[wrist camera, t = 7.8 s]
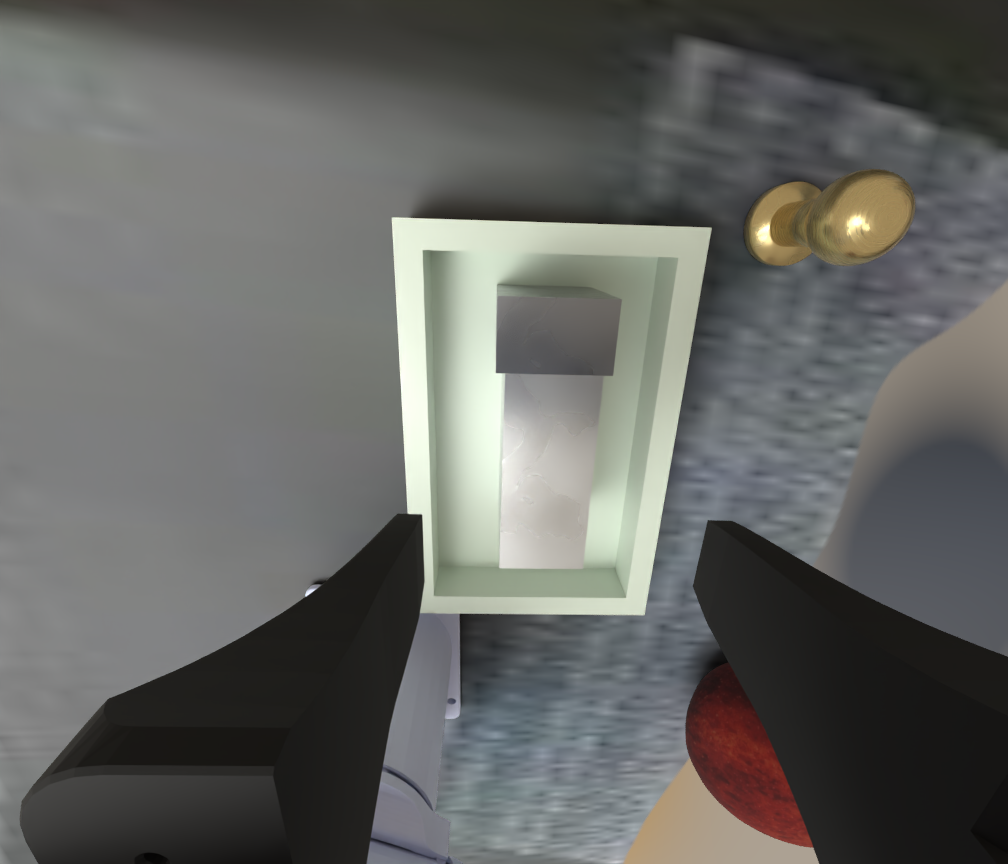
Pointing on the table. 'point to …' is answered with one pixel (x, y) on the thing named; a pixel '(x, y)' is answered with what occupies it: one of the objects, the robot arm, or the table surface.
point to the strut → (550, 417)
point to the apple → (740, 758)
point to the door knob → (831, 219)
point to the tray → (477, 401)
